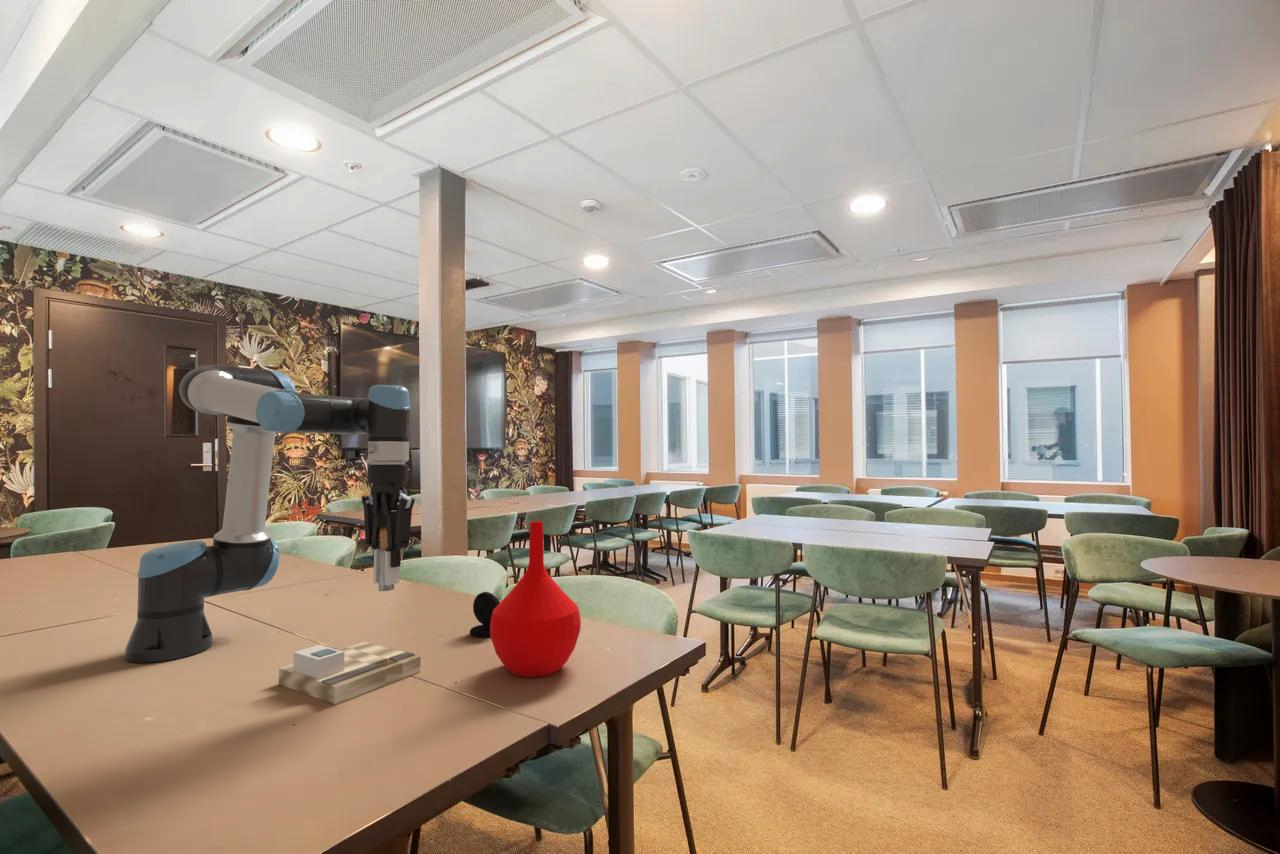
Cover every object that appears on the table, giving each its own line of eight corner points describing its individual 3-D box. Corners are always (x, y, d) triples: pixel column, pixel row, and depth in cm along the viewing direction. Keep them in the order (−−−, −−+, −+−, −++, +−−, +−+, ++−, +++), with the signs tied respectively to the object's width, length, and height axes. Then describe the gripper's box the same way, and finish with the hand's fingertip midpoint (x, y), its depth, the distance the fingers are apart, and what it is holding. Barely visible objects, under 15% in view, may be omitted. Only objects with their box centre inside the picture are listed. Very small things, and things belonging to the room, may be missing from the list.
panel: (278, 684, 112) (279, 667, 112) (364, 655, 128) (364, 640, 128) (335, 704, 103) (335, 685, 103) (420, 671, 118) (420, 655, 119)
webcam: (508, 632, 145) (508, 591, 145) (485, 640, 138) (485, 597, 139) (486, 627, 149) (486, 587, 149) (462, 634, 142) (463, 593, 143)
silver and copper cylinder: (375, 590, 115) (376, 528, 116) (387, 587, 118) (388, 526, 118) (384, 591, 114) (385, 529, 114) (397, 588, 116) (398, 527, 117)
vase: (596, 660, 125) (597, 519, 126) (548, 692, 108) (549, 529, 109) (525, 648, 132) (526, 515, 134) (469, 677, 116) (471, 524, 117)
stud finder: (293, 671, 111) (293, 651, 111) (319, 662, 115) (319, 643, 115) (318, 679, 107) (318, 658, 107) (344, 670, 111) (344, 650, 111)
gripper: (346, 463, 117) (343, 582, 116) (398, 463, 109) (396, 591, 108) (379, 462, 124) (377, 575, 123) (430, 463, 116) (429, 583, 115)
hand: (386, 582), depth 116 cm, fingers closed on silver and copper cylinder, 3 cm apart
